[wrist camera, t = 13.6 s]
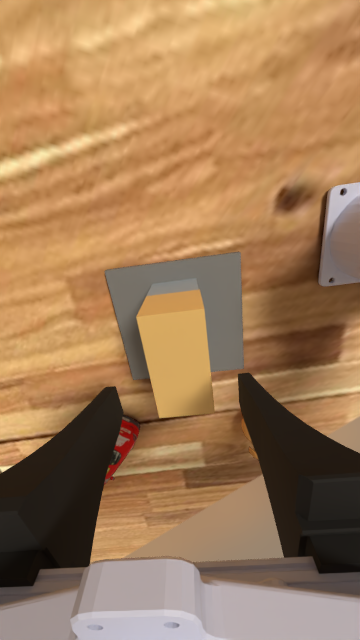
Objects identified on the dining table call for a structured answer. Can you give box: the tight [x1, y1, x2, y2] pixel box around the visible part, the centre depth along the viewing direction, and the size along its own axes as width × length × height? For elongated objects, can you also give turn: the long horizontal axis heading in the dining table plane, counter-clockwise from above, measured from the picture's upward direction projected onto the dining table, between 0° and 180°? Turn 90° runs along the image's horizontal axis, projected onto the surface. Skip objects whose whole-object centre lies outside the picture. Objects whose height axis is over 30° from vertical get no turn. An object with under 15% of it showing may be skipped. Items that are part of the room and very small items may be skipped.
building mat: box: [105, 252, 244, 380], centre depth 23 cm, size 12×12×1 cm
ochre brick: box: [136, 289, 215, 418], centre depth 17 cm, size 4×8×4 cm, turn 8°
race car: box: [104, 415, 140, 484], centre depth 29 cm, size 13×5×4 cm, turn 148°
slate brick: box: [147, 278, 199, 296], centre depth 20 cm, size 4×8×4 cm, turn 8°
